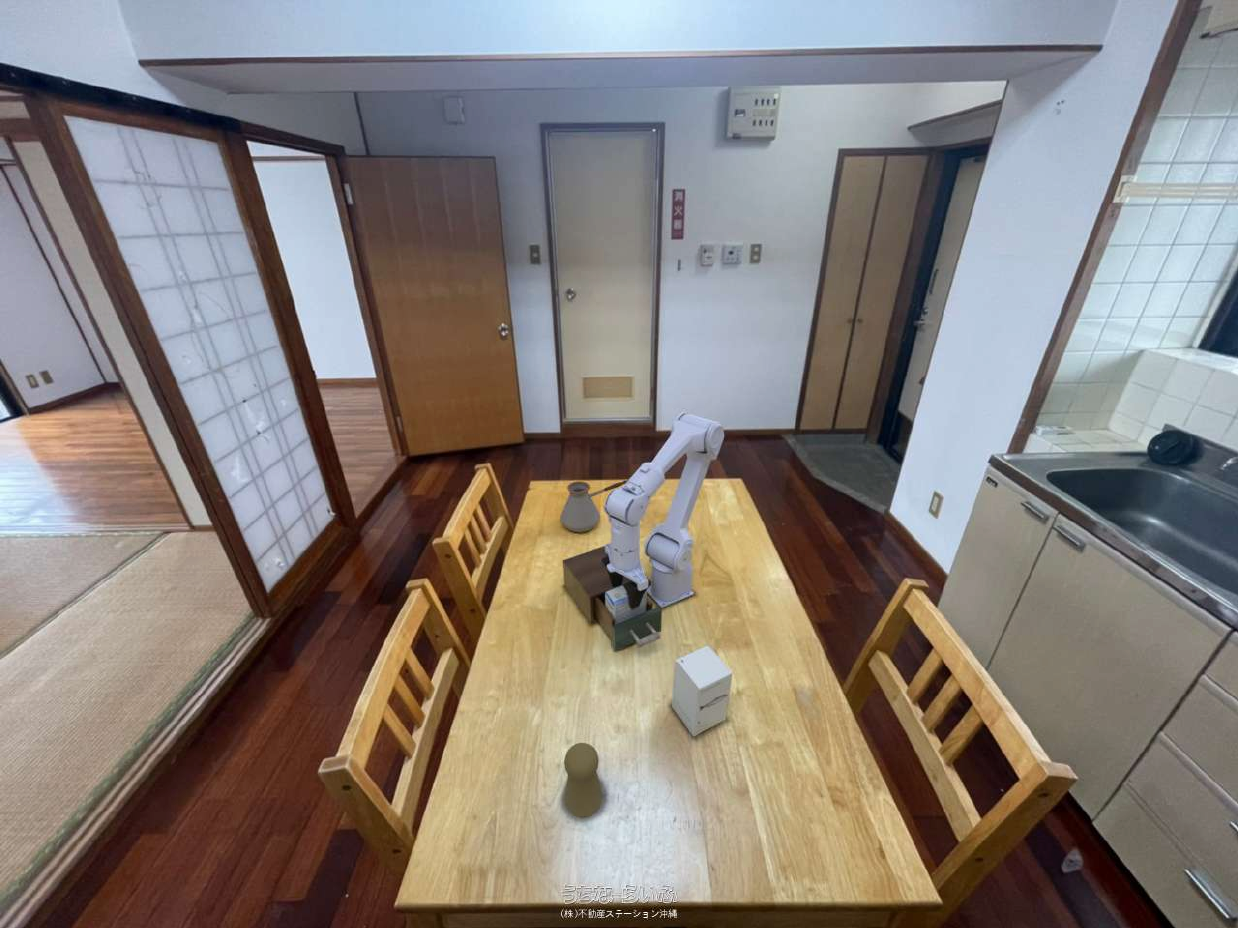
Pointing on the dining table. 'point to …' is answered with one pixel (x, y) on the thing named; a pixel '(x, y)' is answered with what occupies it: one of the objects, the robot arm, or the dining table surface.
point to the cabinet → (587, 579)
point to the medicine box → (622, 604)
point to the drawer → (629, 625)
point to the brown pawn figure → (582, 781)
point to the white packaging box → (701, 689)
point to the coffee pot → (582, 507)
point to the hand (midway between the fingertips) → (625, 595)
